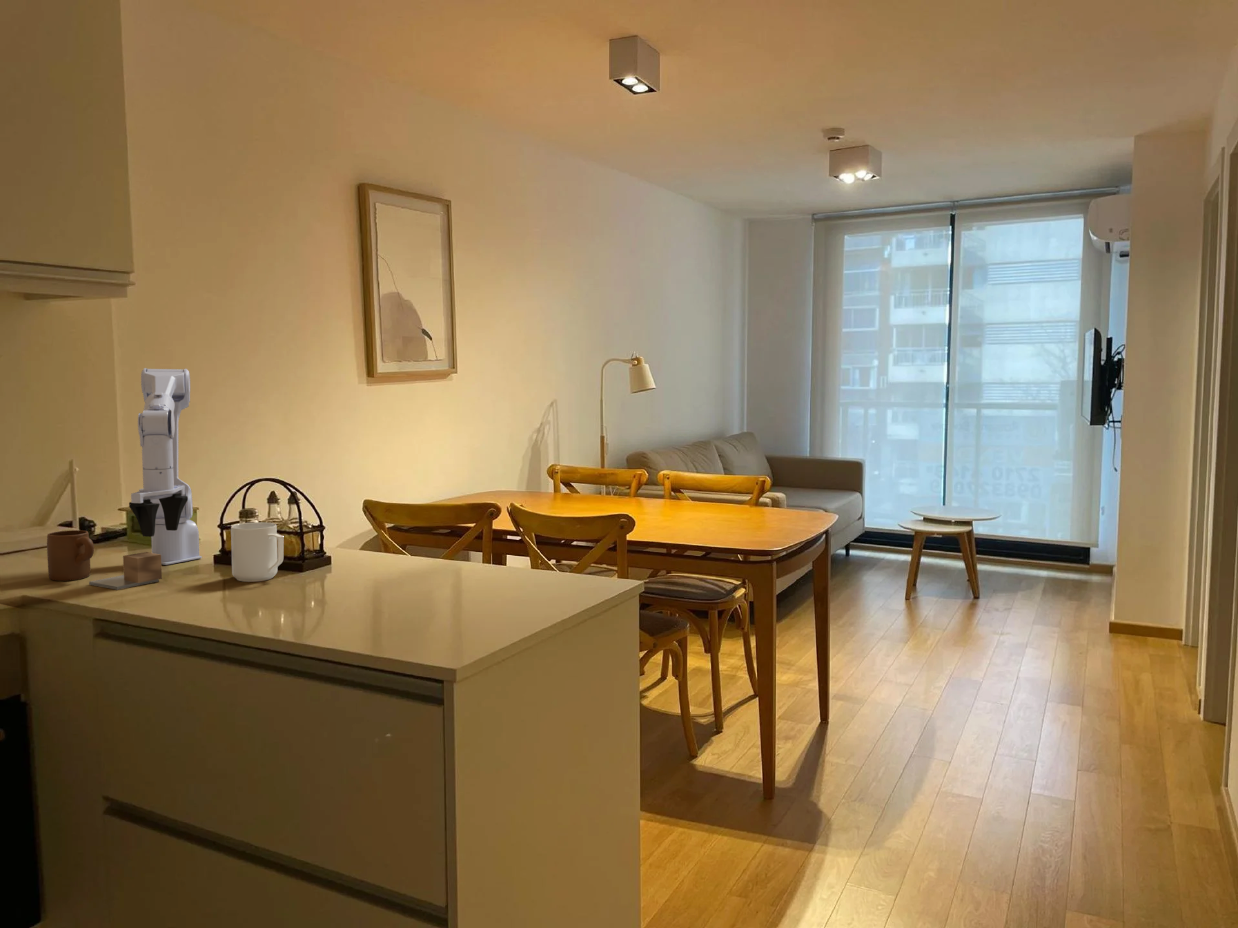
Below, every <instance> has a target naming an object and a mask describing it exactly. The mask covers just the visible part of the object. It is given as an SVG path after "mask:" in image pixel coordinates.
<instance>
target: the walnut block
mask: <svg viewBox="0 0 1238 928" xmlns="http://www.w3.org/2000/svg"><path fill="white" fill-rule="evenodd" d="M122 558H123V559H122V561H123V575H124V580H126V581H131V582H136V583H141V582H147V581H152V580H157V579H159V580H162V578H163V577H162V573H163V571H162V564H161V555H160V554H155V553H152V552H148V551H144V552H138V553H134V554H133V553H132V554H131V553H130V554H126V555H125V554H124V555H123V557H122Z"/></svg>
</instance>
